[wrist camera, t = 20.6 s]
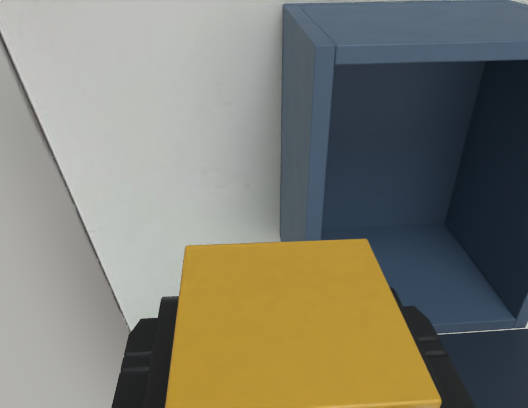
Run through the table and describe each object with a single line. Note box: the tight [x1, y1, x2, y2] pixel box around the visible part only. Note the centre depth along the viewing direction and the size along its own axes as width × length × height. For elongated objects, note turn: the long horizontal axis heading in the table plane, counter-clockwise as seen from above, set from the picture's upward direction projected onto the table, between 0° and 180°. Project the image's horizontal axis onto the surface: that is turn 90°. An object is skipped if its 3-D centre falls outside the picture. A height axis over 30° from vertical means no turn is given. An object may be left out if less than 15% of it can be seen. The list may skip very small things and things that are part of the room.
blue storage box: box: [280, 0, 528, 334], centre depth 26 cm, size 17×14×11 cm
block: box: [165, 239, 442, 408], centre depth 10 cm, size 4×4×4 cm
